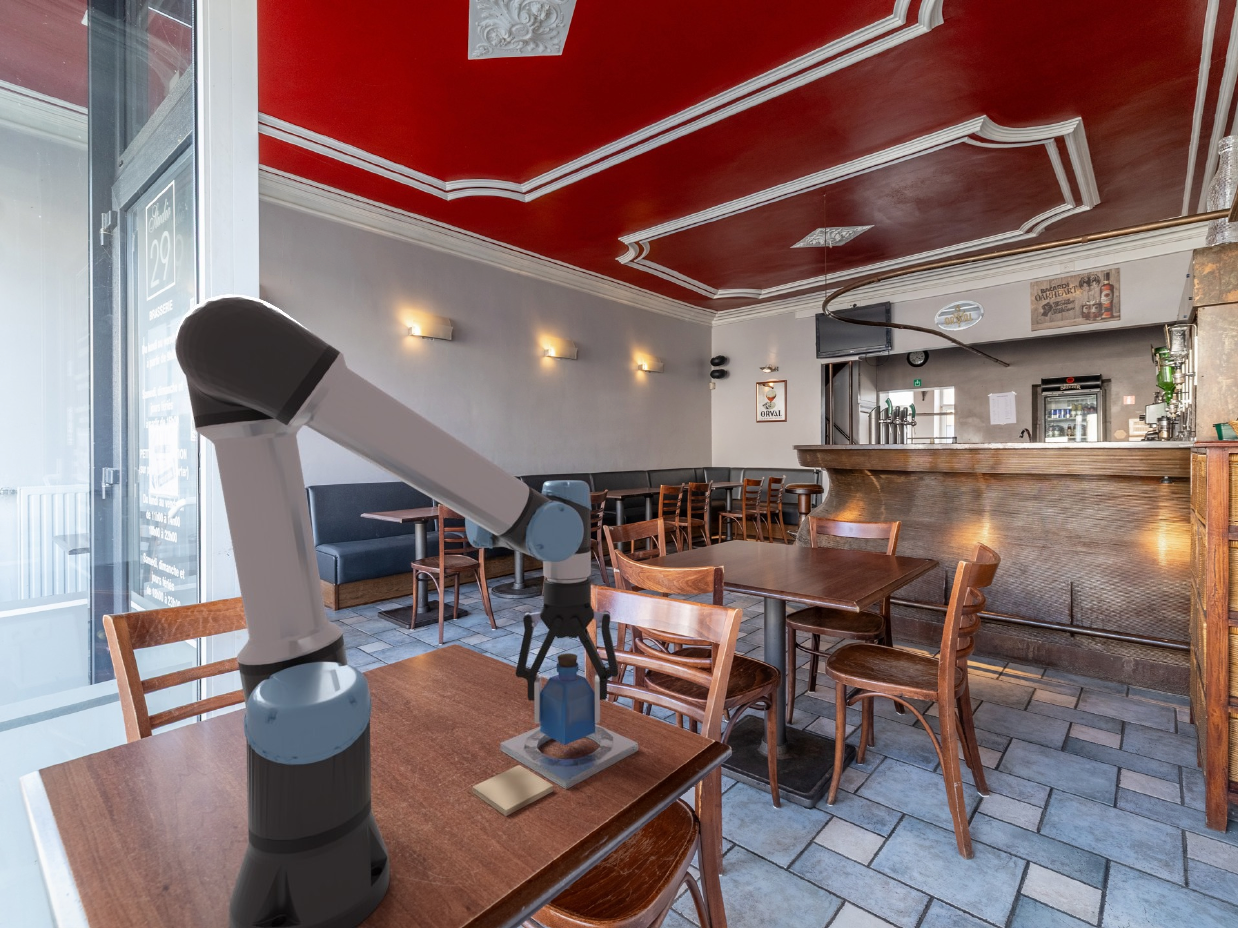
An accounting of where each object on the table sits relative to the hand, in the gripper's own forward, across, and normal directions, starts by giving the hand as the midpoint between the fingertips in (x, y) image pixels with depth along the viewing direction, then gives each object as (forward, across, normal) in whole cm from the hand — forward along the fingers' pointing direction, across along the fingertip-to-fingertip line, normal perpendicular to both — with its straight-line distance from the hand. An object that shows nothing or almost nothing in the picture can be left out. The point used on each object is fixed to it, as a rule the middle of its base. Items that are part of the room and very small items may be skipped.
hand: (567, 719), depth 94 cm
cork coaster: (+5, +7, +11) cm, 14 cm away
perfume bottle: (+2, 0, 0) cm, 2 cm away
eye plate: (+5, 0, 0) cm, 5 cm away
